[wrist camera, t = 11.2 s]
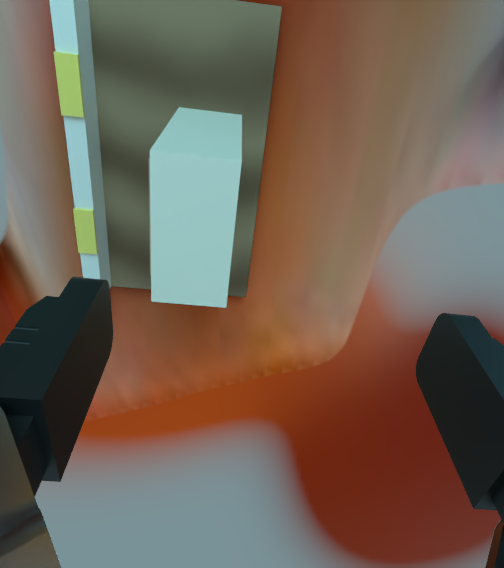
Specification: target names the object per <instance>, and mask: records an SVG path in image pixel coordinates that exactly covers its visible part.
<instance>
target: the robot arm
mask: <svg viewBox="0 0 504 568" xmlns="http://www.w3.org/2000/svg"><path fill="white" fill-rule="evenodd" d="M112 341H113V324H112V312H111V299H110V287H109V283H108V281H107V280H102V279H92V278H82V277H72V278H71V279H70V281H69V282H68V284H67V285H66V287H65V289H64V290H63V292H62V293H61V295H60V296H59V297H51V296H46V297H44V298H43V299H41V300H40V301H39V302H37V303H36V304H34V305H33V306H31V307H30V308H28V309H27V310H26V311H25V313H24V314H23V316H22V317H21V318H20V320H19V321H18V323H17V324H16V325H15V329H13V330H12V331H11V332H10V334H9V335H8V337H7V338H6V339H5V343H3V344H2V345H1V346H0V568H61V565H60V563H59V560H58V557H57V554H56V551H55V549H54V546H53V543H52V540H51V537H50V535H49V532H48V529H47V526H46V524H45V521H44V518H43V516H42V513H41V511H40V509H39V508H38V505H37V502H36V500H35V495H36V492H37V490H38V488H39V485H40V483H41V481H42V480H43V481H58V482H60V481H61V479H62V476H63V473H64V470H65V468H66V466H67V463H68V461H69V458H70V456H71V452H72V450H73V448H74V445H75V443H76V440H77V438H78V435H79V432H80V430H81V427H82V425H83V422H84V420H85V417H86V415H87V412H88V409H89V407H90V404H91V402H92V399H93V397H94V394H95V392H96V389H97V386H98V384H99V381H100V379H101V376H102V374H103V371H104V368H105V366H106V363H107V361H108V358H109V355H110V352H111V347H112ZM416 377H417V382H418V384H419V386H420V389H421V391H422V393H423V395H424V398H425V400H426V402H427V405H428V407H429V409H430V411H431V414H432V416H433V418H434V420H435V423H436V425H437V427H438V430H439V432H440V434H441V436H442V439H443V441H444V443H445V445H446V447H447V450H448V452H449V454H450V457H451V459H452V461H453V463H454V466H455V468H456V470H457V472H458V475H459V477H460V479H461V481H462V484H463V486H464V488H465V491H466V493H467V495H468V497H469V499H470V502H471V504H472V506H473V508H474V509H486V510H497V511H498V513H499V515H500V517H501V521H500V522H499V523H498V524H497V526H496V527H495V530H494V534H493V538H492V543H491V547H490V551H489V555H488V559H487V563H486V567H485V568H504V346H503V345H502V344H501V343H500V342H498V341H497V340H496V339H495V338H492V337H491V336H490V334H489V333H488V331H487V330H486V329H485V327H484V326H483V325H482V323H481V322H480V320H479V319H478V318H476V317H475V316H467V315H457V314H447V313H443V314H441V315H439V316H438V317H437V319H436V321H435V323H434V325H433V327H432V329H431V331H430V334H429V336H428V338H427V340H426V342H425V345H424V346H423V349H422V351H421V353H420V355H419V358H418V360H417V365H416Z"/></svg>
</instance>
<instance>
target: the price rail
mask: <svg viewBox="0 0 504 568" xmlns="http://www.w3.org/2000/svg"><path fill="white" fill-rule="evenodd" d="M49 1H50V9H51V17H52V26H53V34H54V42H55V50H56V52H54V59H55V67H56V75H57V83H58V91H59V99H60V107H61V115H63V116H64V124H65V132H66V141H67V149H68V157H69V165H70V173H71V182H72V190H73V198H74V206H75V208H74V209H73V212H74V220H75V228H76V236H77V244H78V252H79V253H80V256H81V264H82V272H83V278H92V279H102V280H107V281H108V283H109V287H110V288H111V275H110V263H109V250H108V238H107V226H106V213H105V201H104V188H103V176H102V164H101V151H100V139H99V126H98V114H97V102H96V89H95V77H94V65H93V52H92V40H91V27H90V15H89V3H88V0H49Z"/></svg>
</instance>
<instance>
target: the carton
mask: <svg viewBox="0 0 504 568" xmlns="http://www.w3.org/2000/svg"><path fill="white" fill-rule="evenodd" d="M241 163H242V115H239V114H231V113H223V112H214V111H206V110H198V109H190V108H182V107H179V108H178V109H177V111H176V112H175V114H174V115H173V117H172V118H171V120H170V121H169V123H168V124H167V126H166V127H165V129H164V130H163V132H162V133H161V134H160V136H159V137H158V139H157V140H156V142H155V143H154V145H153V146H152V148H151V149H150V158H149V236H150V275H151V301H152V302H164V303H176V304H187V305H199V306H211V307H223V308H226V305H227V296H228V286H229V277H230V267H231V258H232V248H233V239H234V230H235V220H236V211H237V201H238V192H239V182H240V173H241Z"/></svg>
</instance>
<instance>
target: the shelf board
mask: <svg viewBox="0 0 504 568" xmlns="http://www.w3.org/2000/svg"><path fill="white" fill-rule="evenodd" d="M88 3H89V15H90V27H91V40H92V52H93V65H94V77H95V89H96V102H97V114H98V126H99V139H100V151H101V164H102V176H103V188H104V201H105V213H106V226H107V238H108V250H109V263H110V275H111V286H115V287H128V288H140V289H151V275H150V236H149V158H150V149H151V148H152V146H153V145H154V143H155V142H156V140H157V139H158V137H159V136H160V134H161V133H162V132H163V130H164V129H165V127H166V126H167V124H168V123H169V121H170V120H171V118H172V117H173V115H174V114H175V112H176V111H177V109H178V108H179V107H182V108H190V109H198V110H206V111H214V112H223V113H231V114H239V115H242V163H241V173H240V182H239V192H238V201H237V211H236V220H235V230H234V239H233V248H232V258H231V267H230V277H229V286H228V296H239V297H246V292H247V284H248V276H249V268H250V260H251V252H252V244H253V236H254V227H255V219H256V211H257V203H258V195H259V187H260V179H261V171H262V163H263V155H264V147H265V139H266V131H267V123H268V115H269V107H270V99H271V91H272V83H273V75H274V67H275V59H276V51H277V42H278V34H279V26H280V18H281V10H282V6H274V5H267V4H259V3H252V2H244V1H237V0H88Z"/></svg>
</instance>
